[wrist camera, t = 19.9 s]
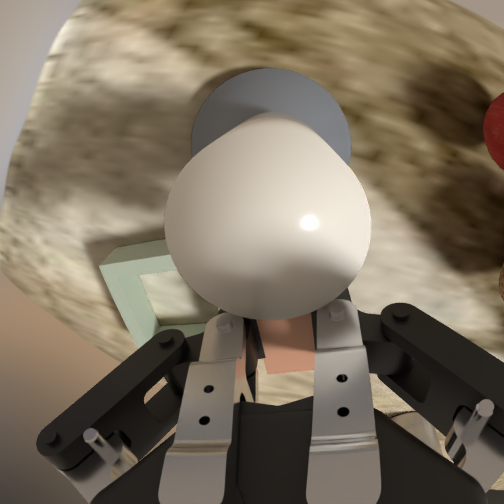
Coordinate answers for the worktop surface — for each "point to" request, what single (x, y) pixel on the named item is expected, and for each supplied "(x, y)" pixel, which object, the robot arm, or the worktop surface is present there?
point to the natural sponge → (501, 282)
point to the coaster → (271, 107)
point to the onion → (495, 130)
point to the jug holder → (140, 287)
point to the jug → (269, 230)
